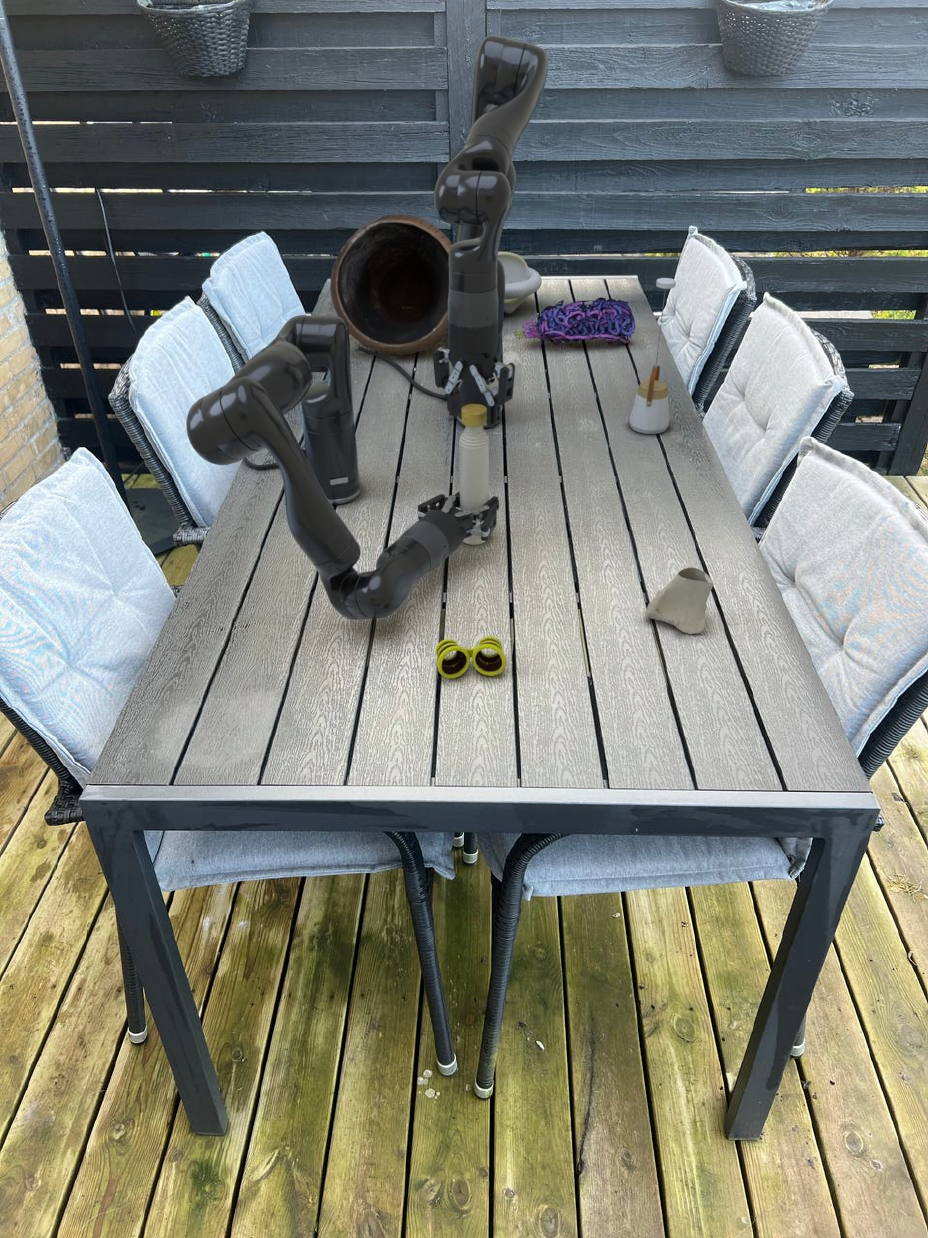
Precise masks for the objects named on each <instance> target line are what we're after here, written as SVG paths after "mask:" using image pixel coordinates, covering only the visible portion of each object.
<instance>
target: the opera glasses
mask: <svg viewBox="0 0 928 1238" xmlns="http://www.w3.org/2000/svg"><path fill="white" fill-rule="evenodd" d="M486 649H487V650H488V649H489V650H492V651H494V652H495V654H491V655H489V654H486V653H484V651H483V650H486ZM452 652H455V653H454V654H453V655H452V656H451V657H448V658H445V657H446V656H447V655H448V654H450V653H452ZM435 655H436V659H437V660H436V661H437V663H436V667H437V671H438V673H439V674H440V675H441V676H442V677H443V678H446V679H456V678H458V677H461V676H462V675H463V674H464V673H465V672H466V671H467V670H468V668H469V666H470V664H471V663H470V661H472V666H473V667H474V668H475V670H476V671H477V672H478V673H480V674H482V675H485V676H487V677H489V676H490V677H492V676H494V677H495V676H498V675H499V674H501V673H502V672H503V671H504V670H505V668H506V665H507V657H506V655H505V652H504V650H503V644H502V642H501V641H500V639H498V637H495V636H491V635H488V636H485V637H483V638H481V639H480V640H479V642H478V645H476V646H475V647H472V648H465V647H463V646H461V645H459V644H458V642H457V641H456V640H454V639H452V638H446V639H442V640H440V642H439V643H438V644H437V645H436V647H435Z"/></svg>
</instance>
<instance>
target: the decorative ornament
mask: <svg viewBox="0 0 928 1238" xmlns="http://www.w3.org/2000/svg"><path fill="white" fill-rule="evenodd" d="M587 302H589V300H576V301H572V302H571V303H568V304H566V305H564V303H565V299H562V300H560V301H558V302H557V303H556V304H555V305H547V306H546V307H544V308H543V309H542V310H541V311H540V316H538V318H537V319H536V321H534V316H533V315H532V316H531V317H530V318H529V320H527V322H524V323H522V326H521V328H519V329H518V330H517V331H514V332H513V335H514V337H515V339H518V341H520V339H523V340H524V341H526V340H527V339H530V342H532V341H534V340H537V341H539V340H540V343H539V345H543V343H544V342H549V343H550V344H553V345H560V344H563V343H564V344H570V343H571V342H575V343H577V344H578V345H580V343H581V342H582V341H591V342H592V341H593V340H604V341H605V344H606V345H611V344H623V345H627V344H630V343H631V342H630V341H631V339H632V335H633V334H635V330H636V323H635V322H636V321H635V316H634V315H633V312H632V308H631V307H630V306H629V304H628V303H629V301H625V300H622V299H617V300H616V299H615V298H611V297H610V298H608V299H607V298H606V297H601V296H600V297H598V298H595V299H594V300H593V299H592V300H590V302H591V304H587Z"/></svg>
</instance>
